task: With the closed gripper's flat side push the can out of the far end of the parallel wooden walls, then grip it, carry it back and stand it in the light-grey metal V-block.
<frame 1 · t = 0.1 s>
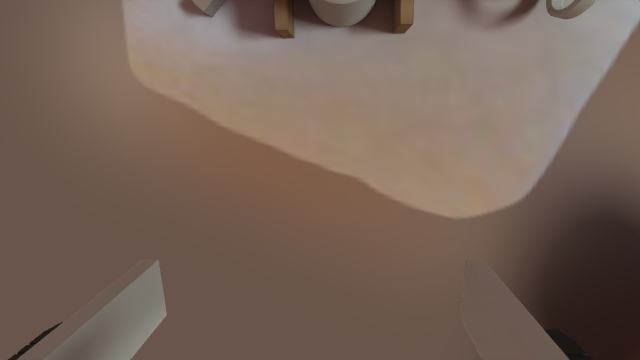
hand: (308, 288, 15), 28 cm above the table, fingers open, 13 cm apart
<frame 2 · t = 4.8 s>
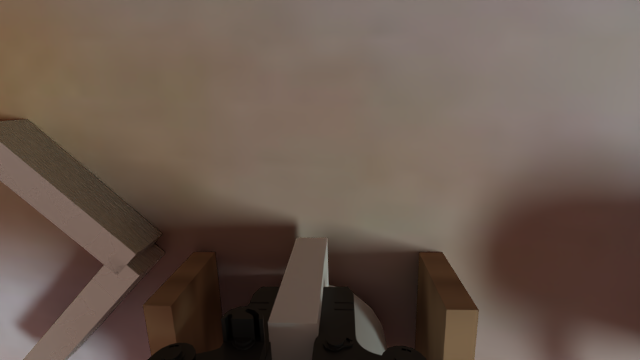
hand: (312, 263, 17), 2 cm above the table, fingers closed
can: (318, 331, 20), on the table, touching gripper
parallel wooden walls: (317, 325, 20), on the table
v block: (50, 243, 19), on the table
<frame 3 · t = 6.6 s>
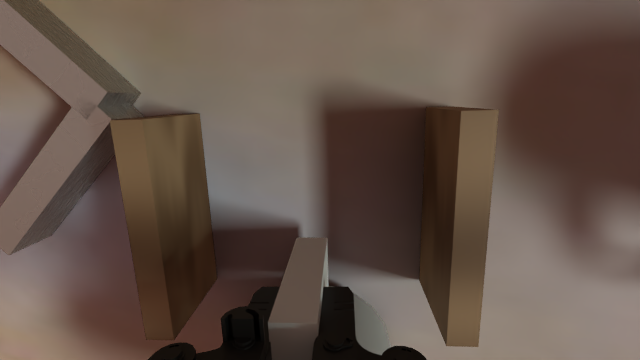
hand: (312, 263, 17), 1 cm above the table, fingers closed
can: (321, 333, 20), on the table, touching gripper
parallel wooden walls: (313, 199, 18), on the table
v block: (18, 108, 18), on the table
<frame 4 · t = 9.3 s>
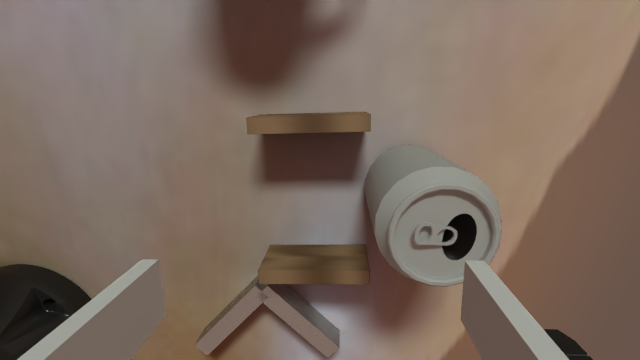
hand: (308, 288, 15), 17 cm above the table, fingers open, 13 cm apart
can: (405, 184, 31), on the table
parallel wooden walls: (315, 188, 31), on the table
v block: (271, 331, 35), on the table
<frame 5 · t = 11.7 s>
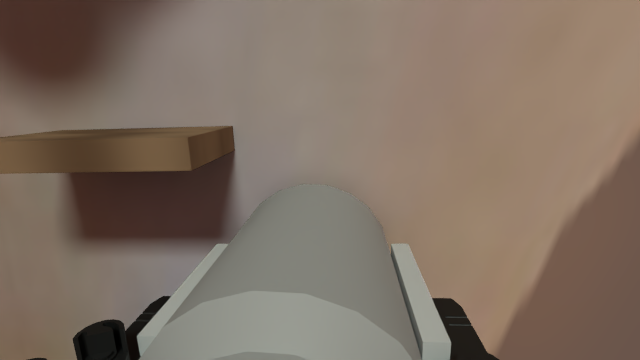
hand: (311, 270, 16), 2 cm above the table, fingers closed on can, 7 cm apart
can: (315, 246, 18), on the table, touching gripper
parallel wooden walls: (163, 251, 19), on the table
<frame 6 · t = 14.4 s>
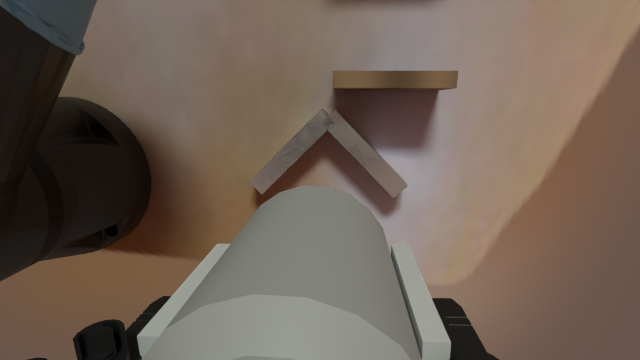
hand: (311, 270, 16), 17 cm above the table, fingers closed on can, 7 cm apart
can: (315, 248, 18), point 15 cm above the table, touching gripper
parallel wooden walls: (390, 7, 29), on the table
v block: (328, 180, 32), on the table
when the fingers open (4 cm above the table, at t = 17.4 s): can drops 2 cm, on the table.
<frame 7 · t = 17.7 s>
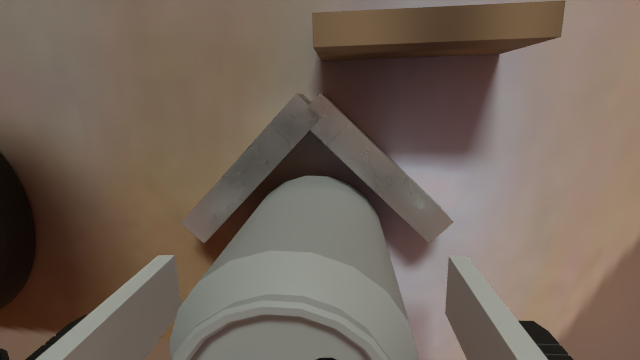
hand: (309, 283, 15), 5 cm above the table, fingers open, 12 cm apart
can: (317, 232, 20), on the table
v block: (317, 212, 20), on the table
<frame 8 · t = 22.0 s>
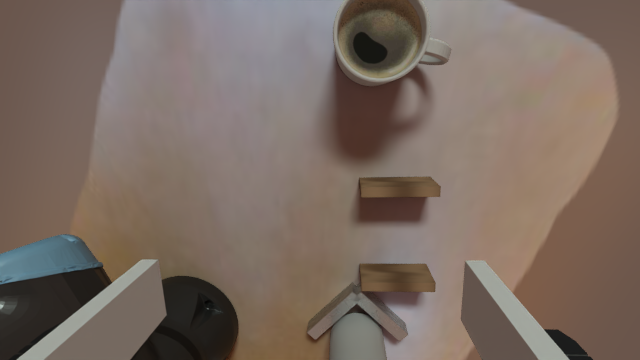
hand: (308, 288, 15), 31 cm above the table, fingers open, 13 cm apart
can: (356, 330, 50), on the table
parallel wooden walls: (393, 226, 46), on the table
mug: (379, 52, 41), on the table
v block: (356, 323, 50), on the table
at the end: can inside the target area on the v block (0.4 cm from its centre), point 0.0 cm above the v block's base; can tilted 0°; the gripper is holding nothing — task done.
